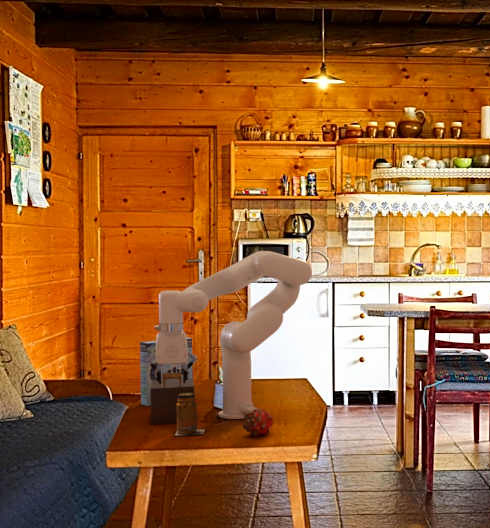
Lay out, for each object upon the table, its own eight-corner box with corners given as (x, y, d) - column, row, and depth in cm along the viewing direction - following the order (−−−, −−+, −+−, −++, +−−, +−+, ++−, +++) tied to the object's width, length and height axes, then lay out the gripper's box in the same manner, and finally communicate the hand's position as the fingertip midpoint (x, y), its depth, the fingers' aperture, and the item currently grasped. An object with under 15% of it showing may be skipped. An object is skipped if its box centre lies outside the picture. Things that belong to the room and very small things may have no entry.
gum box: (186, 397, 319) (185, 337, 318) (194, 399, 315) (193, 338, 314) (140, 404, 305) (139, 341, 305) (147, 406, 302) (146, 342, 301)
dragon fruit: (249, 445, 248) (261, 441, 260) (272, 428, 247) (283, 425, 259) (233, 421, 249) (246, 418, 261) (256, 404, 249) (267, 402, 261)
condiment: (177, 431, 261) (176, 392, 261) (204, 430, 262) (204, 391, 262) (174, 436, 254) (173, 396, 253) (202, 435, 255) (202, 395, 254)
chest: (194, 422, 274) (194, 388, 274) (151, 424, 271) (150, 390, 271) (193, 412, 290) (192, 380, 290) (152, 414, 287) (151, 382, 287)
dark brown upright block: (194, 388, 273) (193, 372, 273) (150, 391, 270) (150, 374, 270) (192, 380, 290) (192, 365, 290) (151, 382, 287) (151, 367, 287)
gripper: (143, 330, 268) (144, 386, 268) (198, 328, 271) (199, 383, 272) (144, 328, 275) (145, 382, 275) (198, 326, 279) (199, 380, 279)
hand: (172, 382), depth 274 cm, fingers open, 7 cm apart
